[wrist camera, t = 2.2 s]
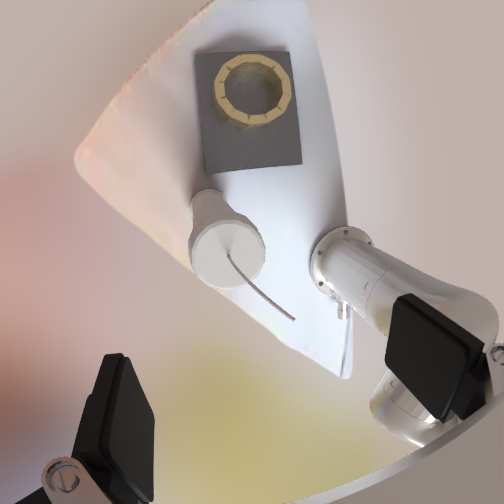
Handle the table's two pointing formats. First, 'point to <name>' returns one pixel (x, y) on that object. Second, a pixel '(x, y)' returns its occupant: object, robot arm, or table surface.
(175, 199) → the table surface
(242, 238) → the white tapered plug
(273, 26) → the table surface
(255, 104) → the fitting base
